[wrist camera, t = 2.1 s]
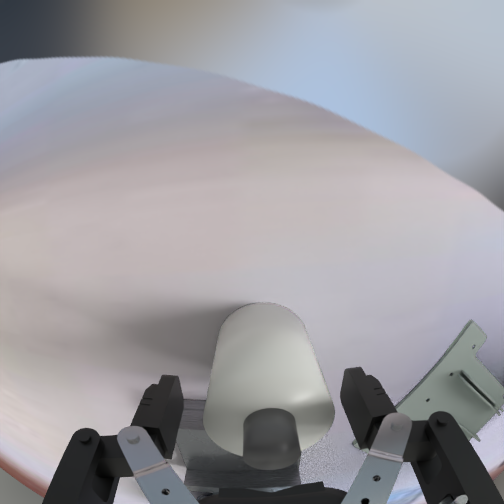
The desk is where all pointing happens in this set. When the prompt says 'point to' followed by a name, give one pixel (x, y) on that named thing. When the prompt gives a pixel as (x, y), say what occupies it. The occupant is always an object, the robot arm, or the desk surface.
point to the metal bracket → (457, 387)
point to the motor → (222, 460)
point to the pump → (266, 388)
